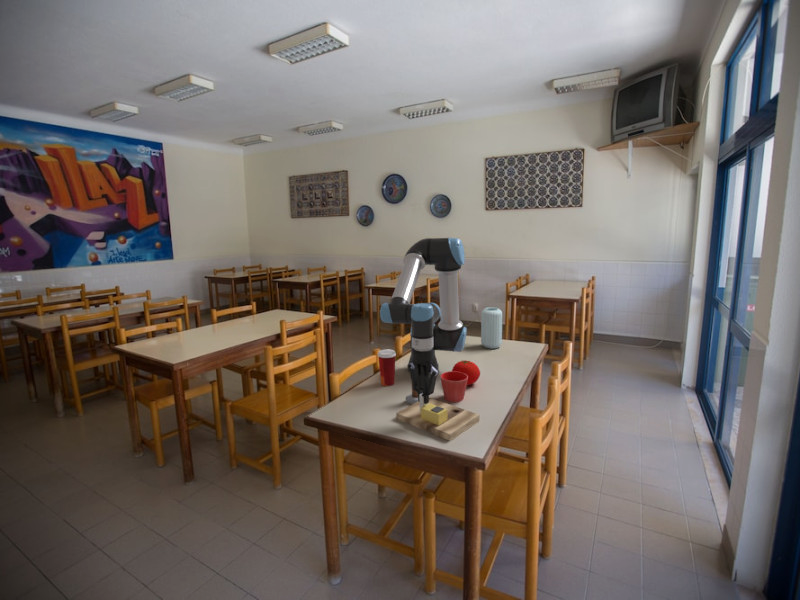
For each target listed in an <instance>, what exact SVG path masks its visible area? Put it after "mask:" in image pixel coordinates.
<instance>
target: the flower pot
mask: <svg viewBox="0 0 800 600" xmlns="http://www.w3.org/2000/svg"><path fill="white" fill-rule="evenodd" d="M439 376H440V381H441V388H442V392H443V395H444V396H443V397H444V400H446V401H447V402H451V403H459V402H462V401H463V400H464V397H465V396H466V395H465V394H466V389H467V386H468V385H467V380H468V376H467V375H466V374H464V373H462V372H457V371H452V370H451V371H446V372H443V373H441V374H440V375H439Z"/></svg>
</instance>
